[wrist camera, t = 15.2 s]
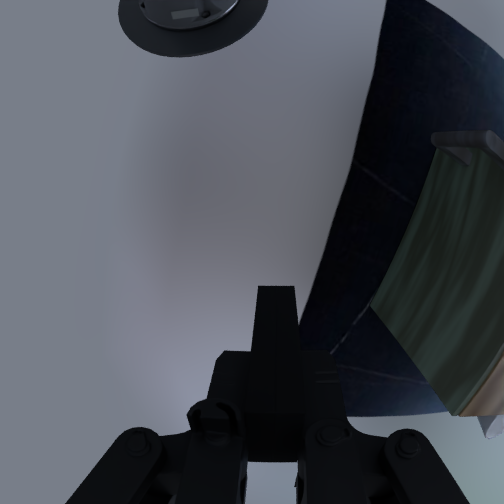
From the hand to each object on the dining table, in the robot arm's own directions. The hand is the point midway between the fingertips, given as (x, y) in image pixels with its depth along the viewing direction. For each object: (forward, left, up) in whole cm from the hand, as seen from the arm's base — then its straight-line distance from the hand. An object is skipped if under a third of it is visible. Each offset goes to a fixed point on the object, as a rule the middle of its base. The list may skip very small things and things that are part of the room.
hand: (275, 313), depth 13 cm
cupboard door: (+19, +6, -27) cm, 33 cm away
